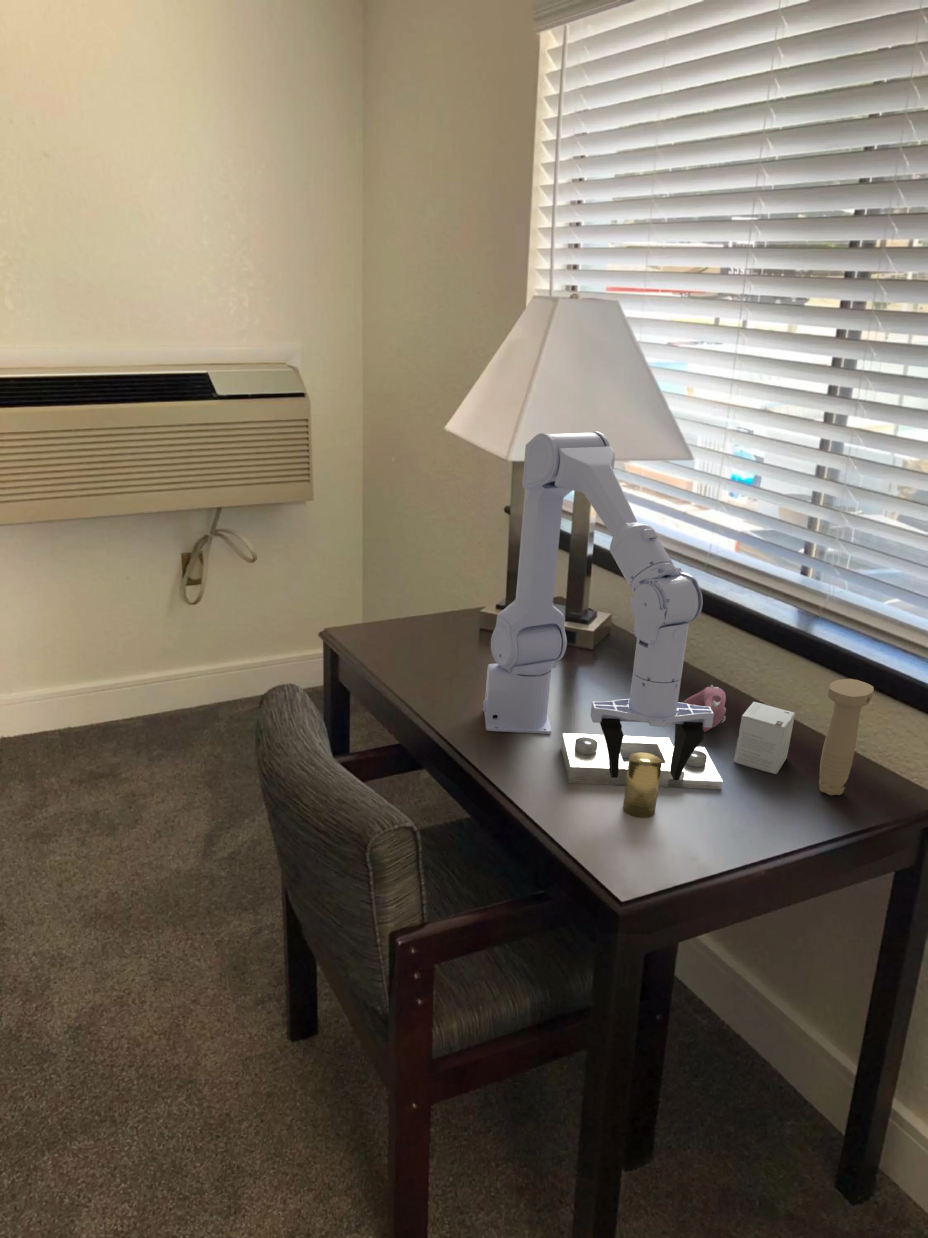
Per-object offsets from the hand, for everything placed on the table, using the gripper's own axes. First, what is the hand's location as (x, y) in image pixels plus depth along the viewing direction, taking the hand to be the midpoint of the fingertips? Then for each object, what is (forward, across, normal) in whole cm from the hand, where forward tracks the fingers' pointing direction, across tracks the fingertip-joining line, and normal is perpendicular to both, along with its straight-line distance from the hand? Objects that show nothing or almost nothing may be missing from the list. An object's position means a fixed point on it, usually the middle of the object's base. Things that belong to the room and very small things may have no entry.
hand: (643, 775), depth 123 cm
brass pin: (+5, 0, 0) cm, 5 cm away
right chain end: (+5, +5, +11) cm, 13 cm away
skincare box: (+5, +20, +15) cm, 26 cm away
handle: (+5, +27, +7) cm, 28 cm away
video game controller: (+5, +14, +26) cm, 30 cm away
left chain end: (+5, -1, +11) cm, 12 cm away
